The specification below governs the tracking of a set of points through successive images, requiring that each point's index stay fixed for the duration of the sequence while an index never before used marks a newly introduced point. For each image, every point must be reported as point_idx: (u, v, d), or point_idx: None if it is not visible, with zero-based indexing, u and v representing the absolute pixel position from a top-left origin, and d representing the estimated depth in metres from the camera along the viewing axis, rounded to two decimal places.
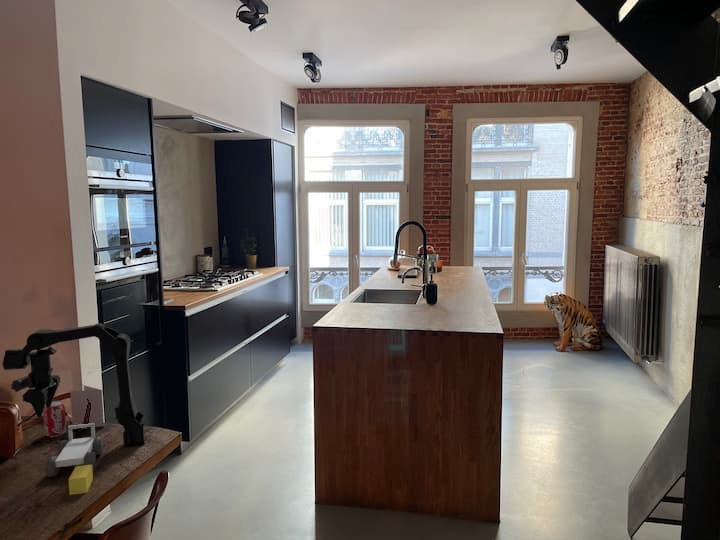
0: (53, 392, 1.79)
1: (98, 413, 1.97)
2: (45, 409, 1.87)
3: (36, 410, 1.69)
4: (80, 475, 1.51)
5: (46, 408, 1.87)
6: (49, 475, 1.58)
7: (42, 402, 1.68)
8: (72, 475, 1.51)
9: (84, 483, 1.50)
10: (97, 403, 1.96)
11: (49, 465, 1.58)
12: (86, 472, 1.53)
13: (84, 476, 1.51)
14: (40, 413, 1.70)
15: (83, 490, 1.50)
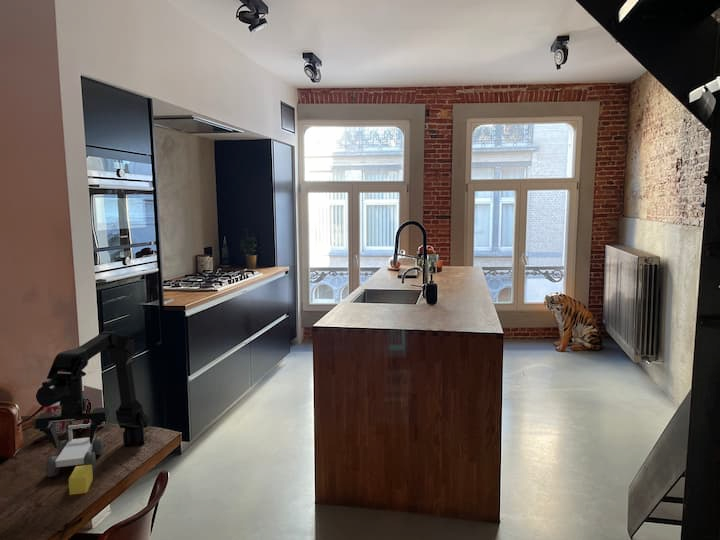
0: (90, 429, 1.51)
1: None
2: (45, 409, 1.87)
3: None
4: (80, 475, 1.51)
5: (46, 408, 1.87)
6: (49, 475, 1.58)
7: None
8: (72, 475, 1.51)
9: (84, 483, 1.50)
10: (97, 403, 1.96)
11: (49, 465, 1.58)
12: (86, 472, 1.53)
13: (84, 476, 1.51)
14: None
15: (83, 490, 1.50)
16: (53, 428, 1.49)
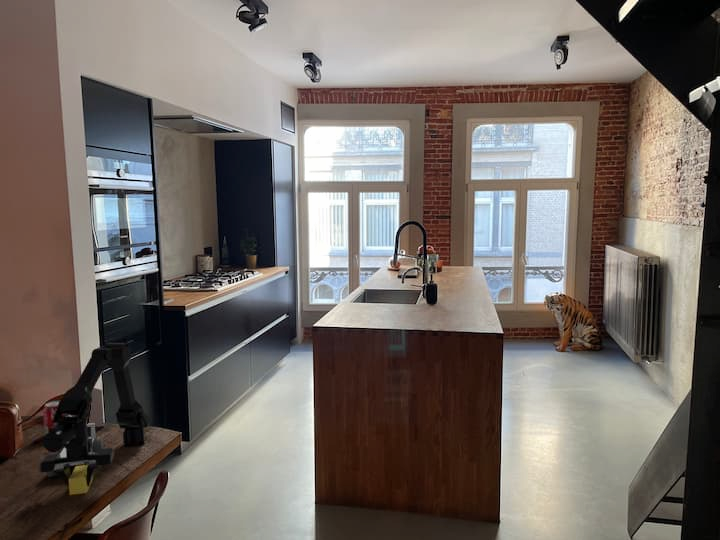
0: (87, 472, 1.50)
1: (98, 413, 1.97)
2: (45, 409, 1.87)
3: None
4: (80, 475, 1.51)
5: (46, 408, 1.87)
6: (49, 475, 1.58)
7: None
8: (72, 475, 1.51)
9: (84, 483, 1.50)
10: (97, 403, 1.96)
11: None
12: (86, 472, 1.53)
13: (84, 476, 1.51)
14: None
15: (83, 490, 1.50)
16: (67, 469, 1.50)
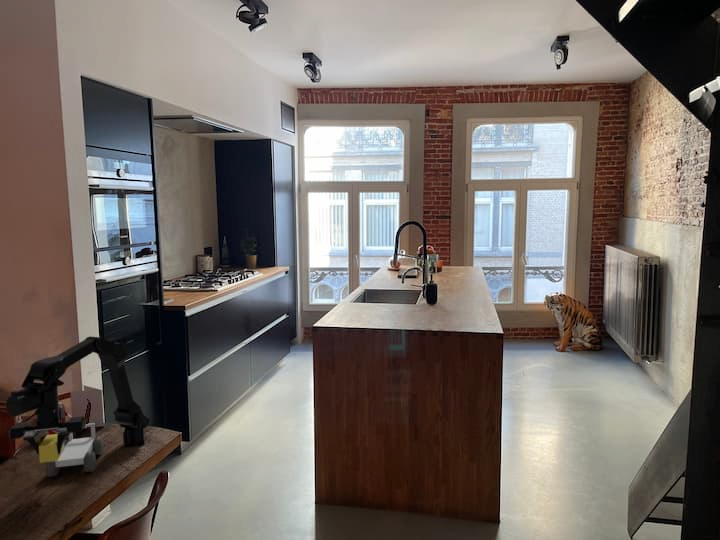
0: None
1: (98, 413, 1.97)
2: None
3: None
4: (51, 442, 1.50)
5: None
6: (49, 475, 1.58)
7: None
8: (42, 442, 1.50)
9: (55, 450, 1.49)
10: (97, 403, 1.96)
11: (49, 465, 1.58)
12: None
13: (55, 443, 1.49)
14: None
15: (54, 457, 1.49)
16: (37, 436, 1.49)
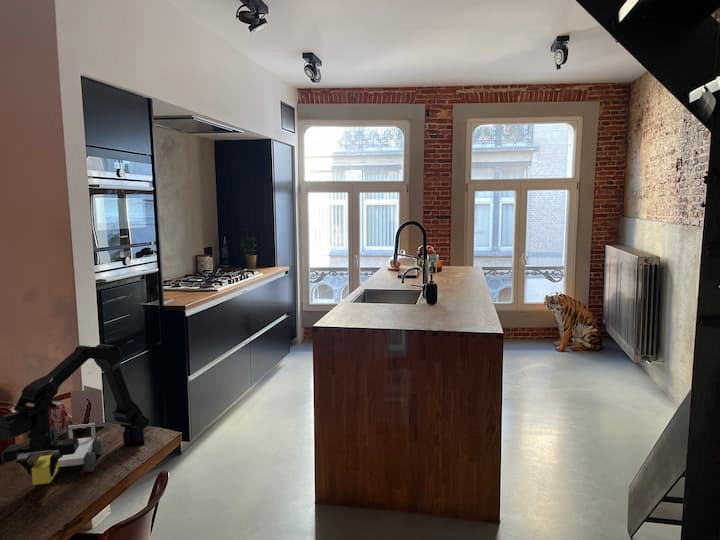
0: None
1: (98, 413, 1.97)
2: None
3: None
4: (44, 465, 1.51)
5: None
6: None
7: None
8: (35, 465, 1.51)
9: (47, 473, 1.50)
10: (97, 403, 1.96)
11: None
12: None
13: (47, 466, 1.50)
14: None
15: (46, 480, 1.50)
16: (30, 459, 1.50)
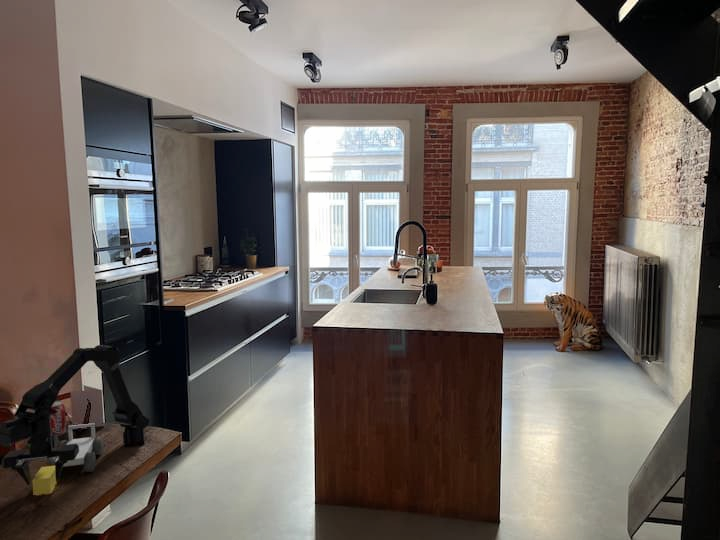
0: None
1: (98, 413, 1.97)
2: None
3: None
4: (44, 476, 1.51)
5: None
6: None
7: None
8: (36, 476, 1.51)
9: (48, 484, 1.50)
10: (97, 403, 1.96)
11: (49, 465, 1.58)
12: (51, 473, 1.53)
13: (48, 477, 1.50)
14: None
15: (47, 491, 1.50)
16: (25, 465, 1.49)
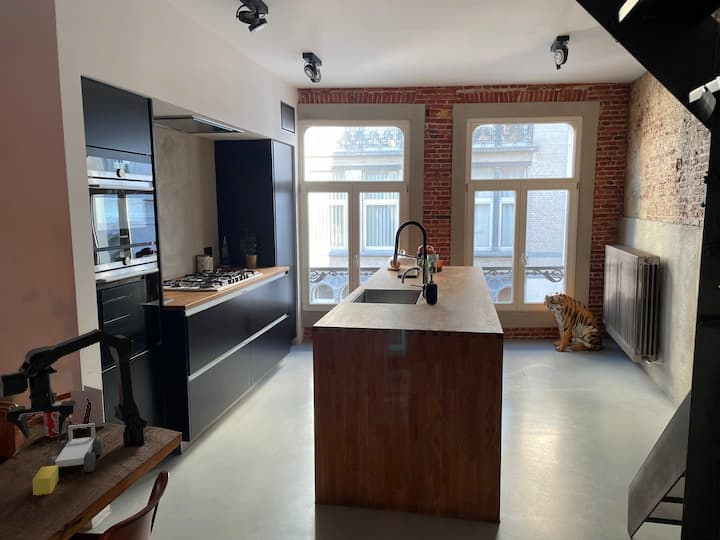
0: None
1: (98, 413, 1.97)
2: None
3: None
4: (44, 476, 1.51)
5: None
6: None
7: None
8: (36, 476, 1.51)
9: (48, 484, 1.50)
10: (97, 403, 1.96)
11: (49, 465, 1.58)
12: (51, 473, 1.53)
13: (48, 477, 1.50)
14: None
15: (47, 491, 1.50)
16: (23, 420, 1.60)
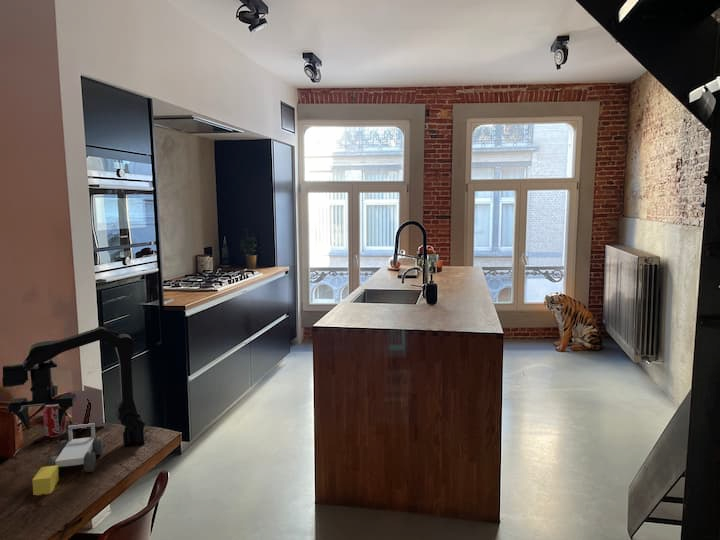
0: None
1: (98, 413, 1.97)
2: (45, 409, 1.87)
3: None
4: (44, 476, 1.51)
5: (46, 408, 1.87)
6: None
7: None
8: (36, 476, 1.51)
9: (48, 484, 1.50)
10: (97, 403, 1.96)
11: (49, 465, 1.58)
12: (51, 473, 1.53)
13: (48, 477, 1.50)
14: None
15: (47, 491, 1.50)
16: (25, 411, 1.66)
